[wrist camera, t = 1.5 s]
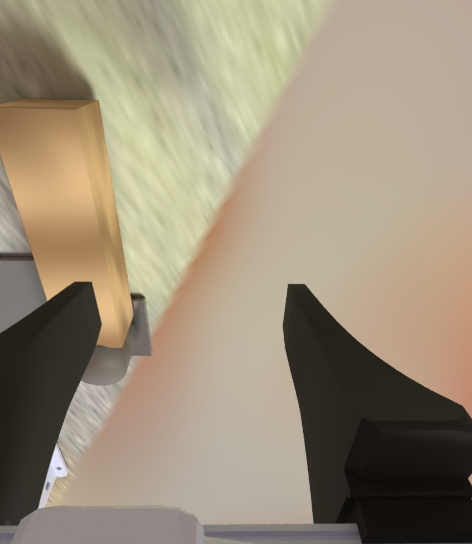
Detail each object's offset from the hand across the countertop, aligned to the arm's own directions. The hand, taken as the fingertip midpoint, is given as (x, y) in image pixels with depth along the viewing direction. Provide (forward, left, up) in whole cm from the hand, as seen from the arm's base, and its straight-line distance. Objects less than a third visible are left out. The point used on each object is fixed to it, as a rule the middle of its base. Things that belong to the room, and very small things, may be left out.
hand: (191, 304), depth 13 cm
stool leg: (-2, +7, -8) cm, 11 cm away
